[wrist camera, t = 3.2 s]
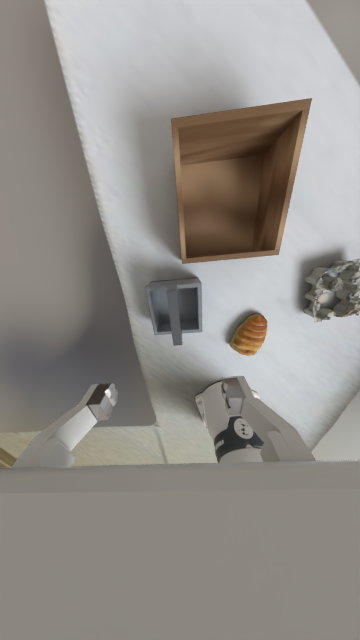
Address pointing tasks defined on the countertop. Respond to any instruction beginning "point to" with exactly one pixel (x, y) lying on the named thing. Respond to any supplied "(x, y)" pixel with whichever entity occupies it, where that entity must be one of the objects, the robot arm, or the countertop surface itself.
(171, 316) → the small crate
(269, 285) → the countertop surface
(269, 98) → the countertop surface
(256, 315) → the pastry
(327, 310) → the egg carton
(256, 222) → the big crate
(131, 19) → the countertop surface
